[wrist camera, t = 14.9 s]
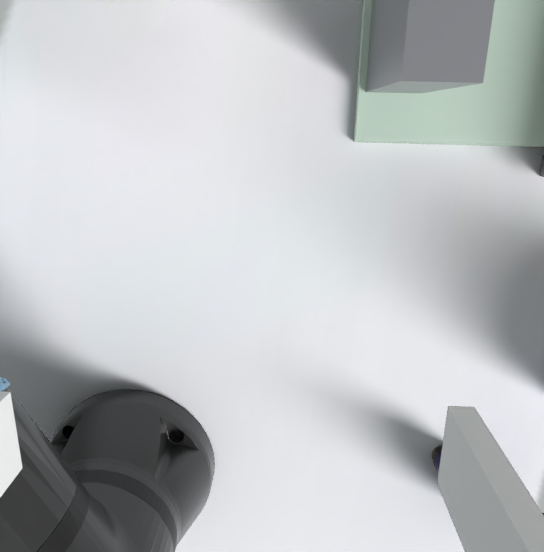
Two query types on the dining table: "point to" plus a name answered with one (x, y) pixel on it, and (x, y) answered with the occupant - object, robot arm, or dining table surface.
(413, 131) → the green platform with post
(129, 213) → the dining table surface
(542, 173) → the dock
